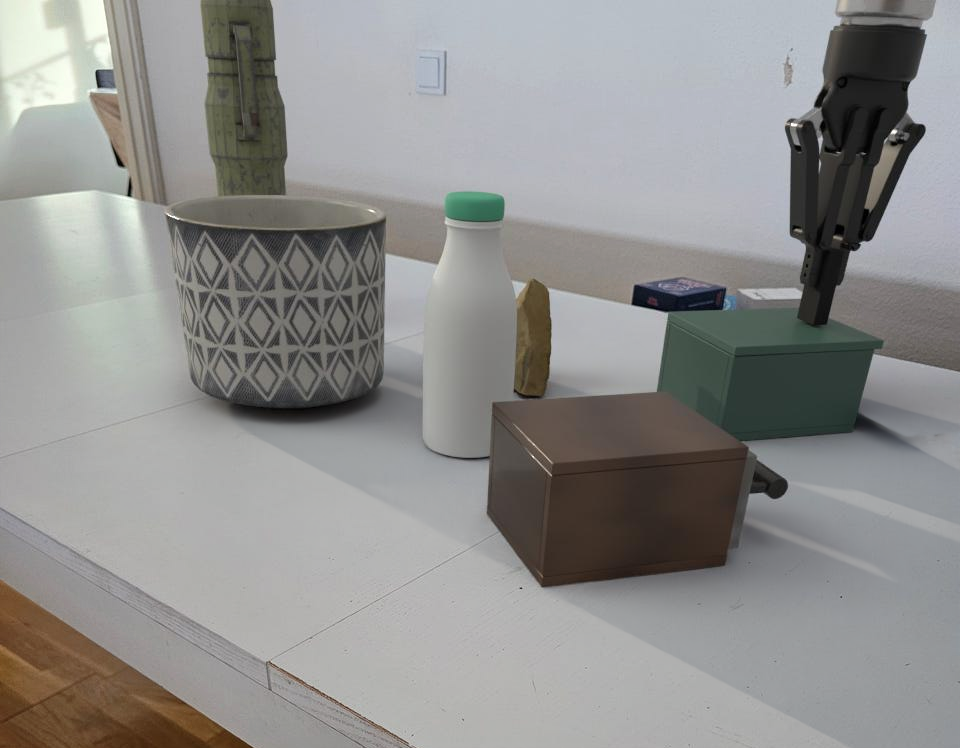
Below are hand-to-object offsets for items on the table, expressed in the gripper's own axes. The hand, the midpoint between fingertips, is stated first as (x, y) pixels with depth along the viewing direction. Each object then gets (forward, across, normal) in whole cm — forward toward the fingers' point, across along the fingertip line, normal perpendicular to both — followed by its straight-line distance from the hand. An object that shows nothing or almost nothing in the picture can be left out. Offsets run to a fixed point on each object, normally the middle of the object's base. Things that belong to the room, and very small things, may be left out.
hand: (811, 321), depth 88 cm
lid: (+1, +4, 0) cm, 4 cm away
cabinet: (+9, +31, +22) cm, 39 cm away
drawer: (+8, +27, +22) cm, 36 cm away
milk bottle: (+9, +35, +2) cm, 36 cm away
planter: (+9, +48, -15) cm, 51 cm away
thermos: (+9, +47, -47) cm, 67 cm away
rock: (+9, +25, -14) cm, 30 cm away
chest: (+9, +5, 0) cm, 10 cm away
